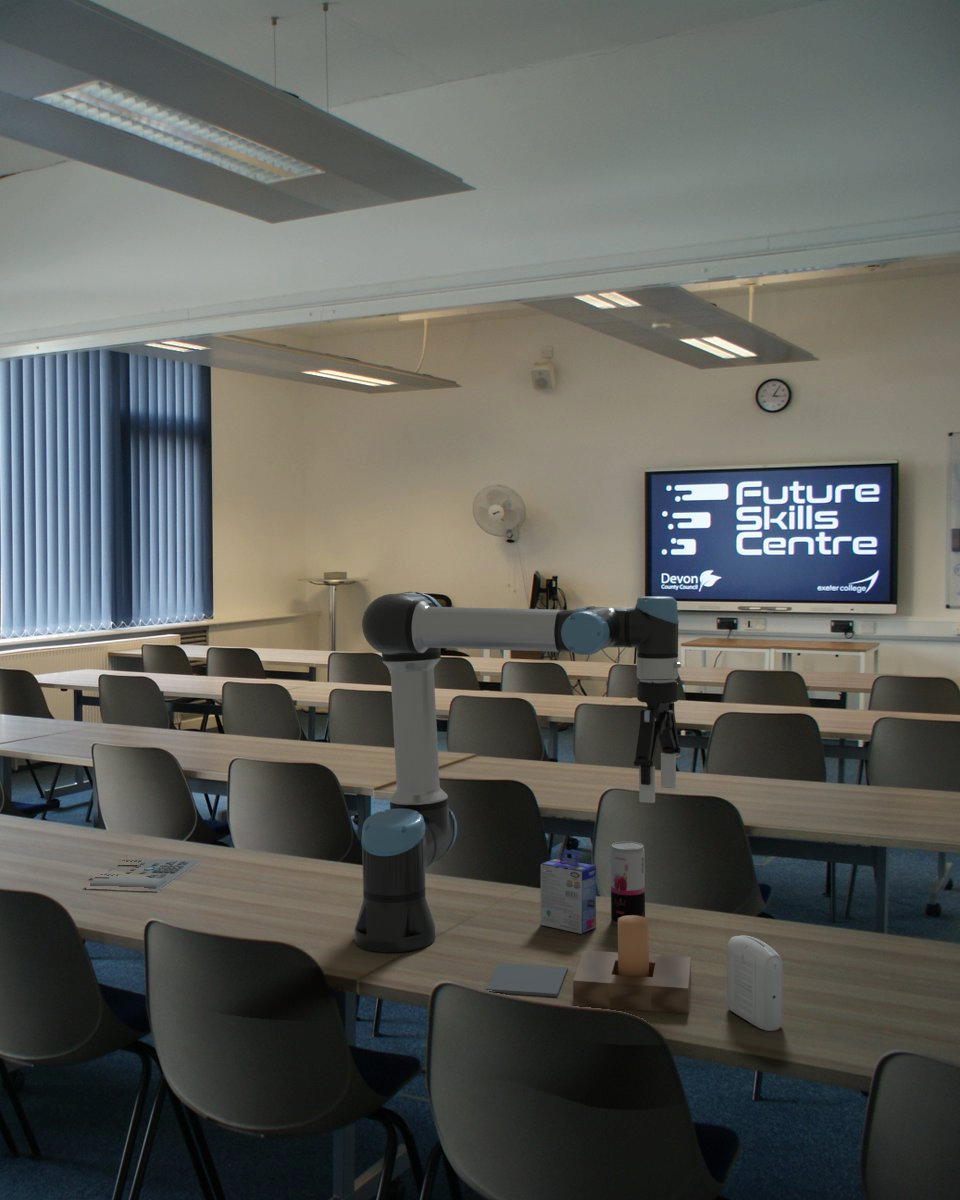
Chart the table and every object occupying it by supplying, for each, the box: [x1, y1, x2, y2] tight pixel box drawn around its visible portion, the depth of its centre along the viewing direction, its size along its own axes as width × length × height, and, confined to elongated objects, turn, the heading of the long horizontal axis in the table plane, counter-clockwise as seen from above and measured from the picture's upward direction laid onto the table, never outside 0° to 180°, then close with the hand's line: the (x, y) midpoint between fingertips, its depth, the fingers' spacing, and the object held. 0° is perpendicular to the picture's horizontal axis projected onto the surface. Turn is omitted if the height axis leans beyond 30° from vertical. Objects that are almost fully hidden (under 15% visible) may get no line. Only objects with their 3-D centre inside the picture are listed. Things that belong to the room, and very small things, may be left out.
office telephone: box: [89, 858, 201, 890], centre depth 257 cm, size 23×3×20 cm
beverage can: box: [610, 840, 646, 926], centre depth 220 cm, size 6×6×15 cm
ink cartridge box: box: [539, 849, 597, 935], centre depth 218 cm, size 10×6×14 cm, turn 53°
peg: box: [617, 915, 650, 977], centre depth 184 cm, size 5×5×12 cm
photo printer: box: [726, 934, 784, 1032], centre depth 174 cm, size 10×4×12 cm, turn 24°
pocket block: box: [572, 950, 692, 1015], centre depth 185 cm, size 18×14×4 cm
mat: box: [484, 962, 569, 998], centre depth 190 cm, size 12×12×1 cm
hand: (658, 794), depth 209 cm, fingers open, 13 cm apart
